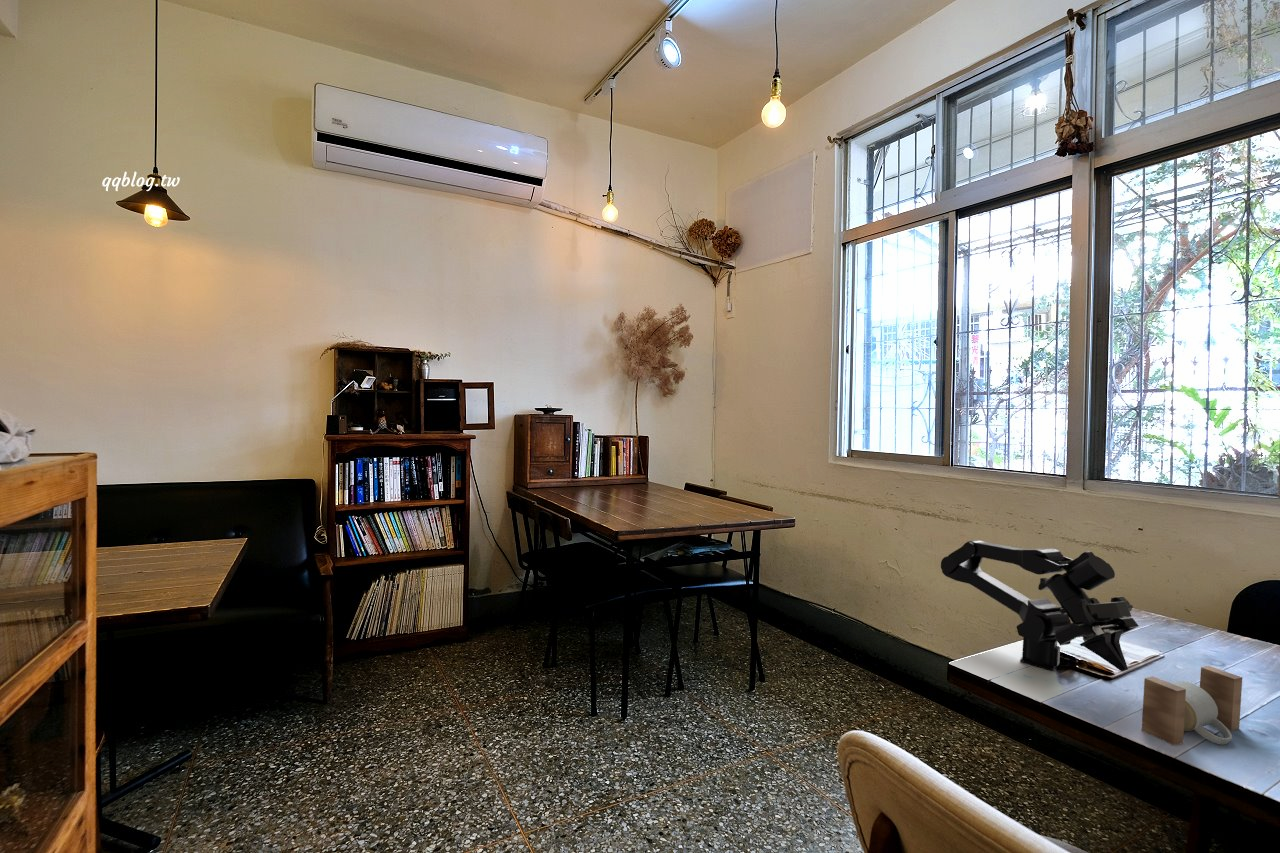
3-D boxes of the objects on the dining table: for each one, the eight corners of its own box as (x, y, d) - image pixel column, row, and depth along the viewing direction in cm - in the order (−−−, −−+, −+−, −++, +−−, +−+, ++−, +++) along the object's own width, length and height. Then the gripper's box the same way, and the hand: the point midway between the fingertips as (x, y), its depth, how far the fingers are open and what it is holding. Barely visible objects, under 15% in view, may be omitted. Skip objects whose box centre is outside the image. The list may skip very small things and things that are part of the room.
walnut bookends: (1141, 730, 106) (1144, 678, 105) (1205, 715, 112) (1208, 665, 112) (1173, 745, 101) (1177, 691, 101) (1239, 728, 107) (1242, 677, 107)
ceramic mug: (1145, 720, 109) (1148, 682, 109) (1165, 711, 113) (1168, 674, 113) (1219, 751, 100) (1223, 710, 99) (1239, 741, 103) (1243, 700, 103)
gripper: (1073, 586, 118) (1128, 661, 108) (1132, 580, 124) (1189, 650, 114) (1033, 609, 126) (1082, 681, 116) (1090, 602, 132) (1141, 670, 122)
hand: (1124, 670), depth 117 cm, fingers closed
